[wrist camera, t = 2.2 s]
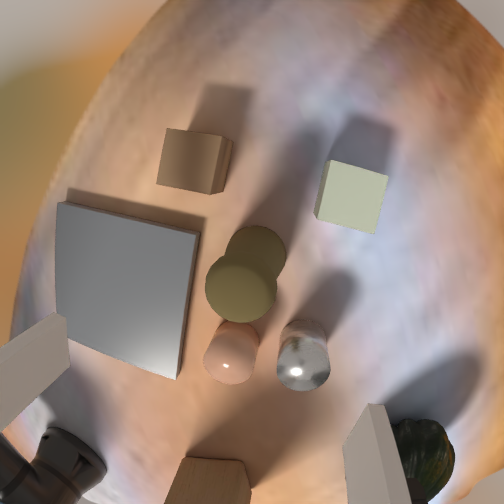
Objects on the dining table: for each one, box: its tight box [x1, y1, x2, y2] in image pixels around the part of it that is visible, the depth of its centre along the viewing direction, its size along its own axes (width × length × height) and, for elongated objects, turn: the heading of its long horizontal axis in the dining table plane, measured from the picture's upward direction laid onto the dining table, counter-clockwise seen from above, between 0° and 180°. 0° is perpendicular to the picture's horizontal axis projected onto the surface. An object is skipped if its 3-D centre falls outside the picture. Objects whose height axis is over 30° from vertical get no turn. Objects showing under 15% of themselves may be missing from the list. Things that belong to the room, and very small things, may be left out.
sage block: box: [313, 160, 389, 234], centre depth 27 cm, size 5×5×5 cm
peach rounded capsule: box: [203, 321, 259, 384], centre depth 32 cm, size 5×5×5 cm
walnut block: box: [156, 128, 233, 195], centre depth 28 cm, size 5×5×5 cm
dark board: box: [55, 201, 200, 380], centre depth 34 cm, size 18×18×2 cm
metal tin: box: [277, 319, 330, 391], centre depth 30 cm, size 5×5×6 cm
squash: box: [345, 419, 455, 502], centre depth 30 cm, size 14×15×15 cm
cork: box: [205, 226, 286, 323], centre depth 26 cm, size 6×6×11 cm
